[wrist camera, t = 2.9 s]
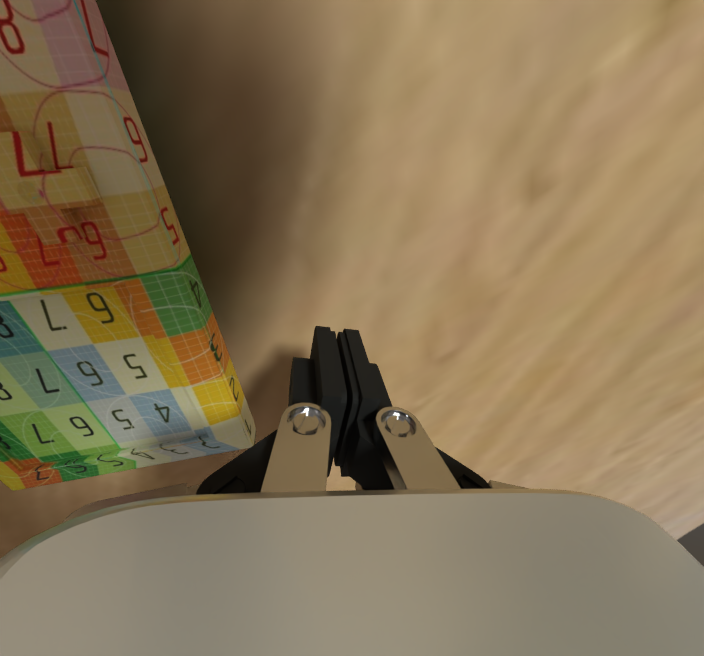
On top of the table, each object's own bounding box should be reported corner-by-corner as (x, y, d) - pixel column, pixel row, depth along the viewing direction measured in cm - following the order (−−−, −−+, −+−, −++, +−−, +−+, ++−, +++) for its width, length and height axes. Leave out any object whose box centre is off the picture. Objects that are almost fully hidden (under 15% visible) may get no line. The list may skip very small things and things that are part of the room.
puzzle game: (-85, -327, 5) (251, 462, 16) (87, -120, 9) (260, 396, 20) (-1128, -343, 4) (-2, 509, 15) (-408, -102, 8) (61, 429, 19)
